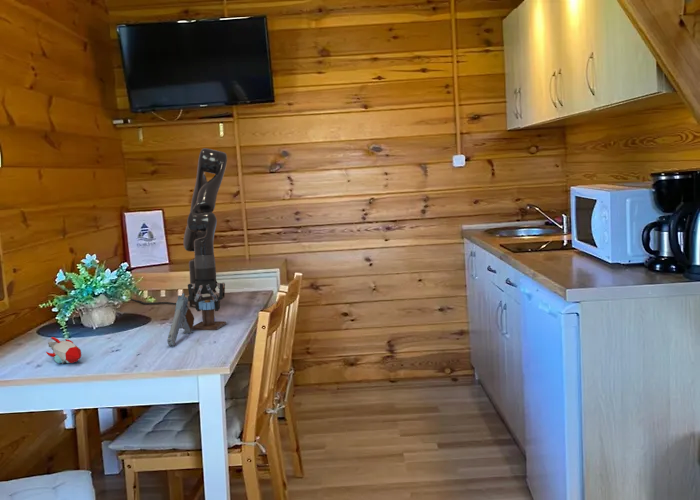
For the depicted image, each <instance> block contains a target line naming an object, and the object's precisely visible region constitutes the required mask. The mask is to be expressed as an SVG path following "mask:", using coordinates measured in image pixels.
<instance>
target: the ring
mask: <svg viewBox="0 0 700 500" xmlns="http://www.w3.org/2000/svg"><path fill="white" fill-rule="evenodd" d="M214 302H215V300H214V299H213V300H210V302H206V303H205V301H200V302H198V303H199V309H200V310H201V311H202V310H211V309H214V310H215V303H214Z"/></svg>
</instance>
